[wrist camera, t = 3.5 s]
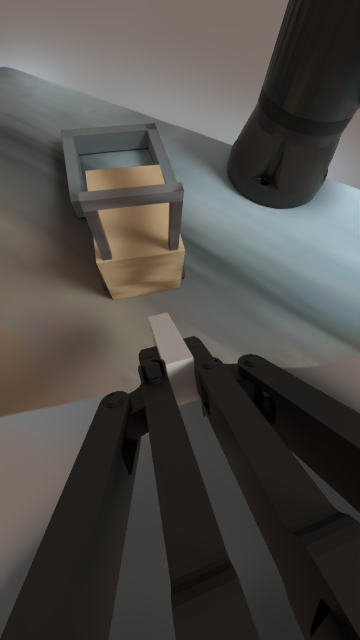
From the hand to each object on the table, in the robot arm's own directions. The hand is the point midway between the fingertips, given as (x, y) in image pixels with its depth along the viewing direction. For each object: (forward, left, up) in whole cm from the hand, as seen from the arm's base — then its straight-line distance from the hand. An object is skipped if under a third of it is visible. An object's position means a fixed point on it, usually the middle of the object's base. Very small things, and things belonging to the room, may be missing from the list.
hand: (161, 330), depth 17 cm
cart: (0, -13, -7) cm, 15 cm away
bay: (0, -27, -7) cm, 28 cm away
